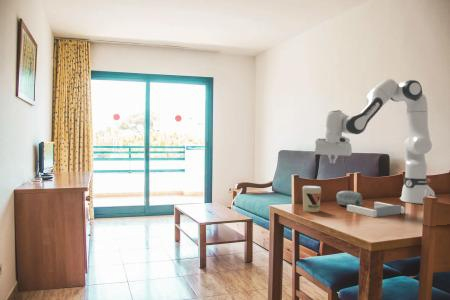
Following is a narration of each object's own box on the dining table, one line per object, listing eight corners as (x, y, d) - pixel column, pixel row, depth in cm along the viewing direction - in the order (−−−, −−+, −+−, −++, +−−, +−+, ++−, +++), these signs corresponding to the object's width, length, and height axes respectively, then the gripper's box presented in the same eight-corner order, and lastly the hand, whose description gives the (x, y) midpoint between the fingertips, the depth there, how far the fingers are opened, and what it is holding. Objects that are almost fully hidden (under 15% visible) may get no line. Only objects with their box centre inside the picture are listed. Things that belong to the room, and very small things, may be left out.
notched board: (377, 207, 200) (377, 199, 199) (404, 213, 186) (404, 205, 185) (346, 210, 188) (346, 202, 188) (372, 217, 174) (373, 208, 174)
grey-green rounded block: (367, 200, 201) (360, 185, 199) (362, 210, 195) (355, 194, 193) (344, 203, 211) (337, 188, 209) (338, 212, 204) (331, 197, 202)
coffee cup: (306, 212, 182) (307, 188, 181) (298, 208, 191) (299, 185, 190) (323, 212, 184) (324, 188, 183) (315, 208, 193) (316, 185, 192)
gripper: (313, 138, 214) (313, 162, 215) (350, 139, 204) (349, 164, 204) (317, 138, 220) (316, 161, 220) (352, 139, 209) (351, 163, 210)
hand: (332, 163), depth 212 cm, fingers closed
